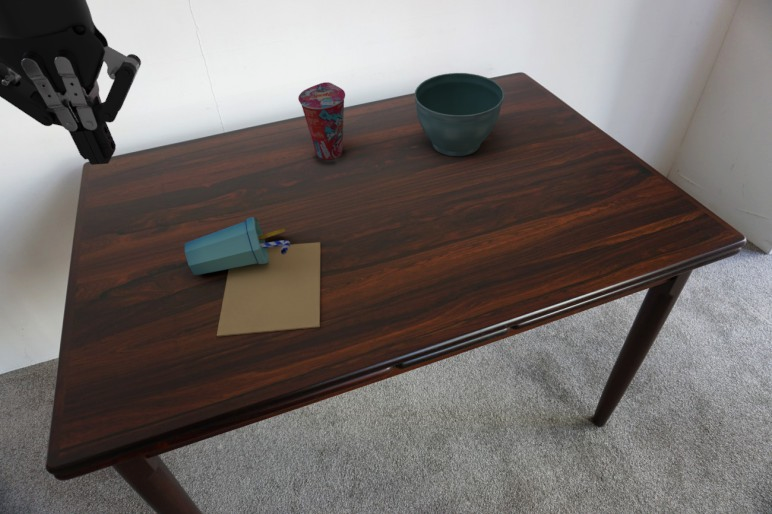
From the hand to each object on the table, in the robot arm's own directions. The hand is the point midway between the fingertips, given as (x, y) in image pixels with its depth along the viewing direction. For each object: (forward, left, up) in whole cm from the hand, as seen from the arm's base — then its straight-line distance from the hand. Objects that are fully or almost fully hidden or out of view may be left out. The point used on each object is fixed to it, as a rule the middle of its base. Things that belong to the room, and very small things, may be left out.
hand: (103, 159), depth 50 cm
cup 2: (+18, +44, -30) cm, 56 cm away
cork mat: (+10, +9, -29) cm, 32 cm away
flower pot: (+43, +43, -30) cm, 68 cm away
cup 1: (-2, +13, -26) cm, 29 cm away
